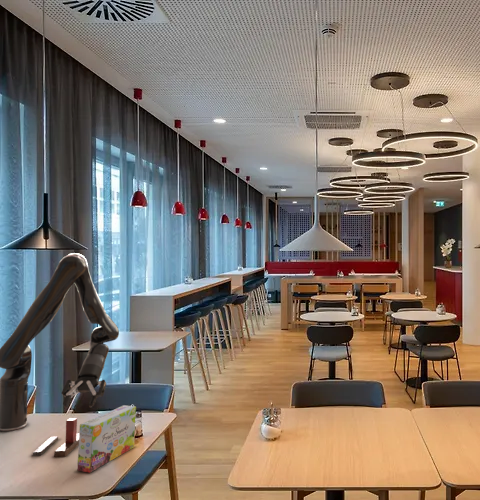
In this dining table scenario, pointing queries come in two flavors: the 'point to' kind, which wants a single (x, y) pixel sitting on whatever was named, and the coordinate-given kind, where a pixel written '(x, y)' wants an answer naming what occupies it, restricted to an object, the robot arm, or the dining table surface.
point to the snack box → (106, 438)
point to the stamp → (69, 439)
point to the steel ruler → (45, 446)
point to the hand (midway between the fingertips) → (77, 406)
